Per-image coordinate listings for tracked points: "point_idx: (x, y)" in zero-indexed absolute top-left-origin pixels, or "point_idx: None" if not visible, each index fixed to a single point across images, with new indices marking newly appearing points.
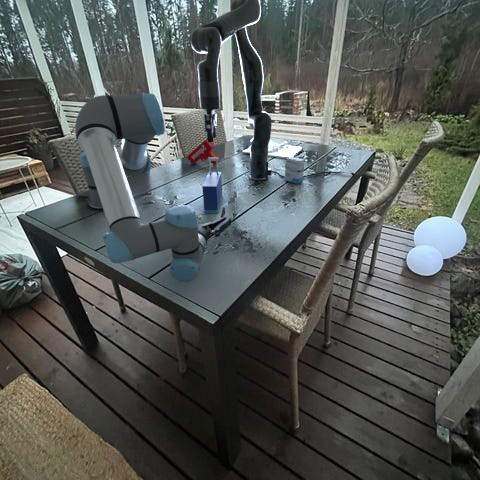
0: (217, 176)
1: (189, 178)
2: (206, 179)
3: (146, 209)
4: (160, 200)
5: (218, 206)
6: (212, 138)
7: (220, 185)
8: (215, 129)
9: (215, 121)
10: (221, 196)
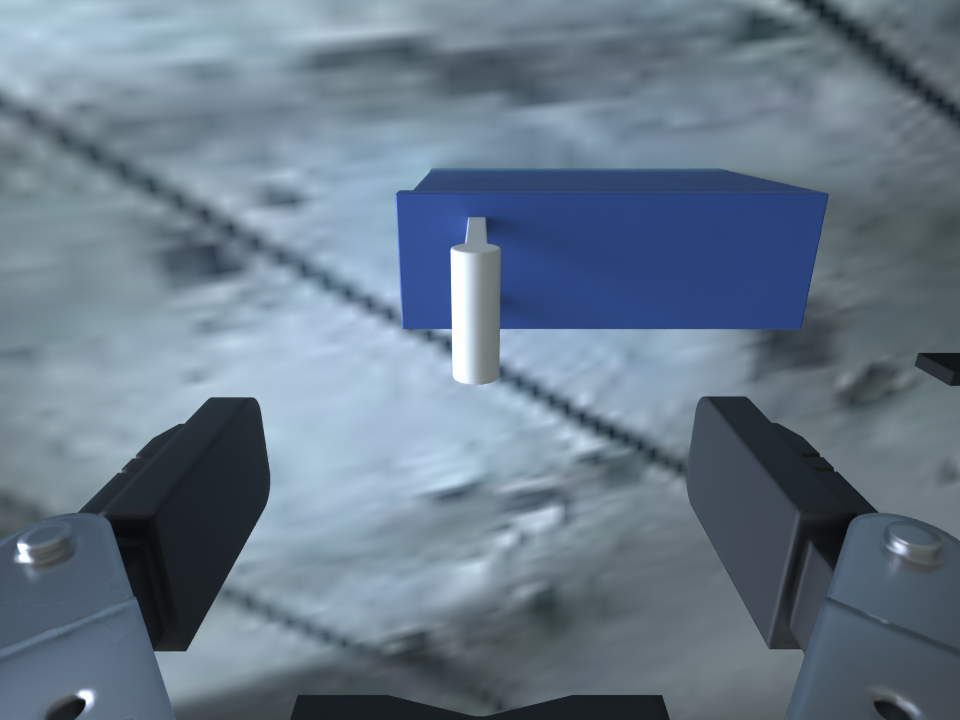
0: (533, 220)
1: (90, 481)
2: (621, 319)
3: (629, 597)
4: (506, 563)
5: (680, 171)
6: (776, 438)
7: (514, 182)
8: (175, 495)
9: (166, 706)
10: (478, 171)
